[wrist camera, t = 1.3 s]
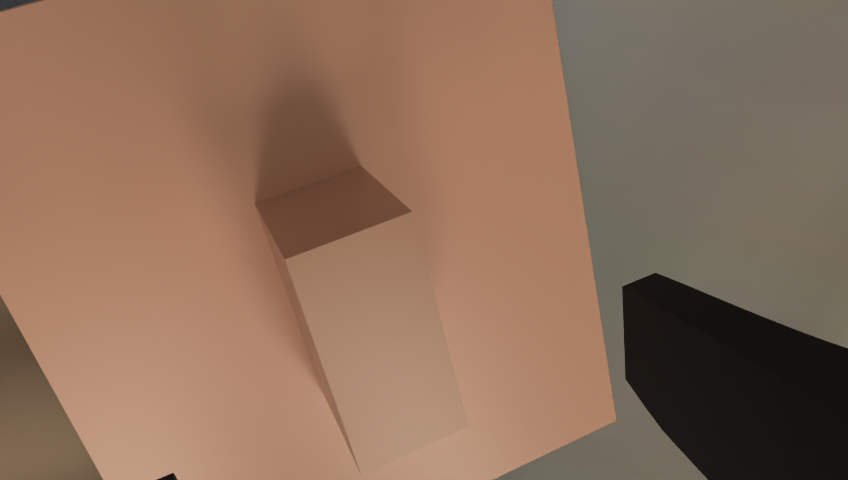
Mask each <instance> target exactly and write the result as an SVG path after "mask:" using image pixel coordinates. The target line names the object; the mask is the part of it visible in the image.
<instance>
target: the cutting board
mask: <svg viewBox="0 0 848 480" xmlns="http://www.w3.org/2000/svg"><path fill="white" fill-rule="evenodd" d="M0 480H103V479H102V477H101V475H100V473H99V471H98V470H97V468H96V466H95V464H94V462H93V461H92V459H91V457H90V455H89V453H88V452H87V450H86V448H85V446H84V444H83V443H82V441H81V439H80V437H79V435H78V434H77V432H76V430H75V428H74V426H73V425H72V423H71V421H70V419H69V417H68V416H67V414H66V412H65V410H64V408H63V407H62V405H61V403H60V401H59V399H58V398H57V396H56V394H55V392H54V390H53V389H52V387H51V385H50V383H49V381H48V380H47V378H46V376H45V374H44V372H43V371H42V369H41V367H40V365H39V363H38V362H37V360H36V358H35V356H34V354H33V353H32V351H31V349H30V347H29V345H28V344H27V342H26V340H25V338H24V336H23V335H22V333H21V331H20V329H19V327H18V326H17V324H16V322H15V320H14V318H13V317H12V315H11V313H10V311H9V309H8V308H7V306H6V304H5V302H4V300H3V299H2V297H1V295H0Z"/></svg>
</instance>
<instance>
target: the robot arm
mask: <svg viewBox="0 0 848 480" xmlns="http://www.w3.org/2000/svg"><path fill="white" fill-rule="evenodd" d="M622 291H623V319H624V347H625V375H626V380H627V381H628V383H629V384H630V386H631V387H632V389H633V390H634V391H635V393H636V394H637V396H638V397H639V399H640V400H641V402H642V403H643V404H644V406H645V407H646V409H647V410H648V411H649V413H650V414H651V415H652V417H653V418H654V419H655V421H656V422H657V423H658V425H659V426H660V427H661V429H662V430H663V431H664V432H665V433H666V434H667V436H668V437H669V438H670V439H671V440H672V441H673V442H674V443H675V444H676V446H677V447H678V448H679V449H680V450H681V451H682V452H683V453H684V454H685V455H686V456H687V457H688V459H689V460H690V461H691V462H692V463H693V464H694V465H695V466H696V467H697V468H698V469H699V470H700V471H701V473H702V474H703V475H704V476H705V477H706V478H707V479H708V480H848V348H845V347H842V346H839V345H836V344H833V343H830V342H827V341H824V340H822V339H819V338H816V337H813V336H811V335H808V334H805V333H803V332H800V331H797V330H795V329H792V328H790V327H787V326H784V325H782V324H779V323H777V322H774V321H772V320H769V319H767V318H764V317H762V316H759V315H757V314H754V313H752V312H749V311H747V310H744V309H742V308H740V307H737V306H735V305H732V304H730V303H728V302H725V301H723V300H720V299H718V298H716V297H713V296H711V295H708V294H706V293H704V292H701V291H699V290H697V289H694V288H692V287H689V286H687V285H684V284H682V283H680V282H677V281H675V280H672V279H670V278H667V277H665V276H662V275H659V274H657V273H654V274H652V275H649V276H647V277H644V278H642V279H639V280H637V281H635V282H632V283H630V284H627V285H625V286H623V287H622ZM157 480H177V478H176V476H175V474H174V473H171V474H169V475H167V476H164V477H162V478H159V479H157Z"/></svg>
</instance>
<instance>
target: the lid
mask: <svg viewBox="0 0 848 480" xmlns="http://www.w3.org/2000/svg"><path fill="white" fill-rule="evenodd" d="M0 295H1V297H2V299H3V300H4V302H5V304H6V306H7V308H8V309H9V311H10V313H11V315H12V317H13V318H14V320H15V322H16V324H17V326H18V327H19V329H20V331H21V333H22V335H23V336H24V338H25V340H26V342H27V344H28V345H29V347H30V349H31V351H32V353H33V354H34V356H35V358H36V360H37V362H38V363H39V365H40V367H41V369H42V371H43V372H44V374H45V376H46V378H47V380H48V381H49V383H50V385H51V387H52V389H53V390H54V392H55V394H56V396H57V398H58V399H59V401H60V403H61V405H62V407H63V408H64V410H65V412H66V414H67V416H68V417H69V419H70V421H71V423H72V425H73V426H74V428H75V430H76V432H77V434H78V435H79V437H80V439H81V441H82V443H83V444H84V446H85V448H86V450H87V452H88V453H89V455H90V457H91V459H92V461H93V462H94V464H95V466H96V468H97V470H98V471H99V473H100V475H101V477H102V479H103V480H157V479H159V478H162V477H164V476H167V475H169V474H171V473H174V474H175V476H176V478H177V480H493V479H496V478H498V477H500V476H502V475H504V474H506V473H508V472H510V471H512V470H514V469H516V468H518V467H521V466H523V465H525V464H527V463H529V462H531V461H533V460H535V459H537V458H539V457H541V456H543V455H546V454H548V453H550V452H552V451H554V450H556V449H558V448H560V447H562V446H564V445H566V444H569V443H571V442H573V441H575V440H577V439H579V438H581V437H583V436H585V435H587V434H589V433H591V432H594V431H596V430H598V429H600V428H602V427H604V426H606V425H608V424H610V423H612V422H614V421H616V415H615V408H614V402H613V395H612V389H611V382H610V376H609V369H608V363H607V356H606V350H605V343H604V337H603V330H602V323H601V317H600V310H599V304H598V297H597V291H596V284H595V278H594V271H593V265H592V258H591V252H590V245H589V239H588V232H587V226H586V219H585V213H584V206H583V200H582V193H581V187H580V180H579V174H578V167H577V160H576V154H575V147H574V141H573V134H572V128H571V121H570V115H569V108H568V102H567V95H566V89H565V82H564V76H563V69H562V63H561V56H560V50H559V43H558V37H557V30H556V24H555V17H554V11H553V4H552V0H37V1H33V2H29V3H25V4H22V5H18V6H14V7H11V8H7V9H3V10H0Z"/></svg>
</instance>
